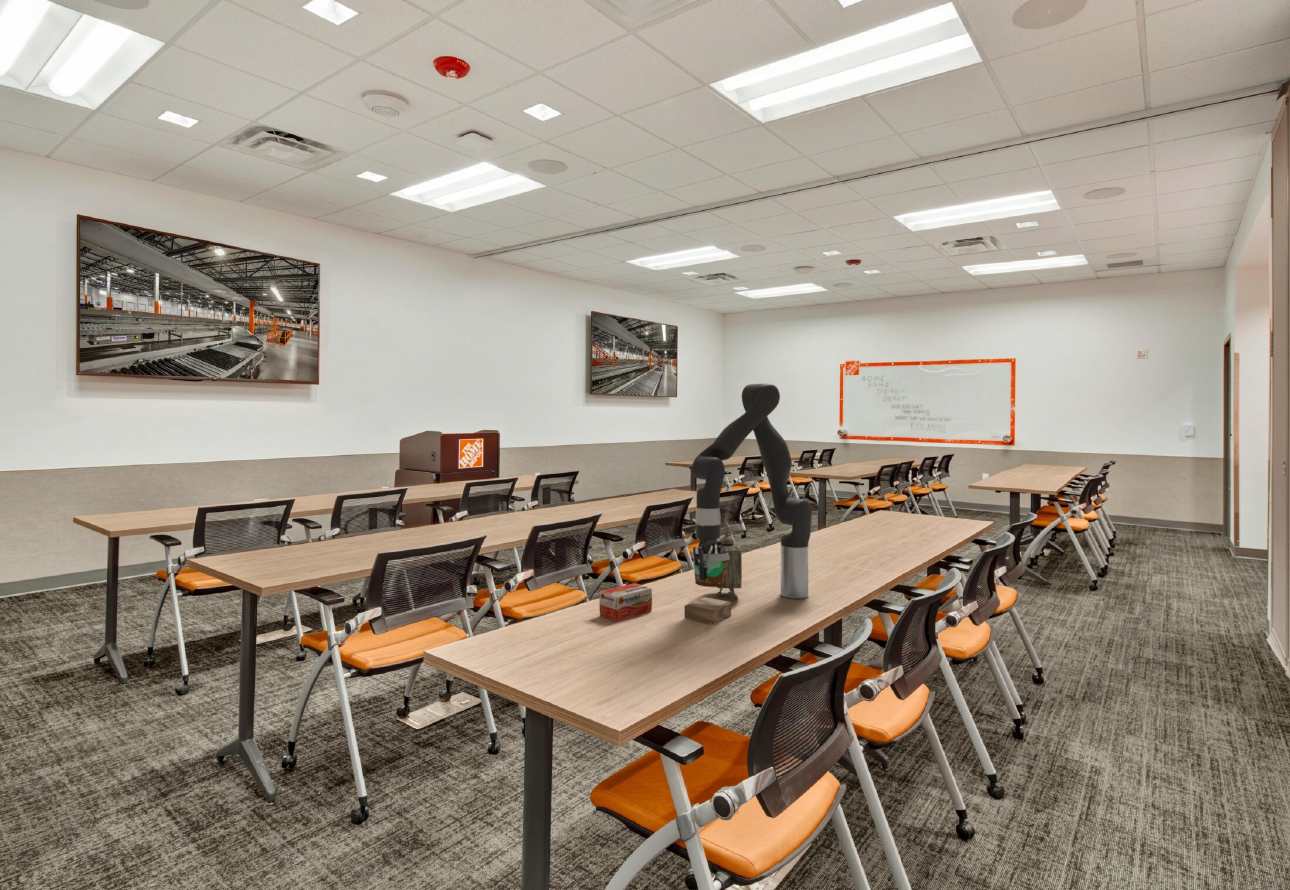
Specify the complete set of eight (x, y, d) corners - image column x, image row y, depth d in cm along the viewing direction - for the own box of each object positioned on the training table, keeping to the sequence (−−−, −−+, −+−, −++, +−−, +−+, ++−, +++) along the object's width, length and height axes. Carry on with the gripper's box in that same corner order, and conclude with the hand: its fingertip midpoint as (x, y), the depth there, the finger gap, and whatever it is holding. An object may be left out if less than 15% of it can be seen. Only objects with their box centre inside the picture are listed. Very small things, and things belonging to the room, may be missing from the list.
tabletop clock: (741, 601, 215) (741, 526, 214) (714, 601, 215) (714, 526, 214) (736, 590, 230) (736, 520, 229) (710, 590, 230) (710, 520, 229)
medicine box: (616, 622, 194) (615, 596, 194) (599, 616, 200) (598, 591, 200) (652, 612, 205) (652, 587, 204) (635, 607, 211) (635, 582, 210)
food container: (684, 584, 198) (684, 552, 198) (692, 580, 204) (692, 548, 203) (722, 589, 192) (722, 556, 192) (729, 585, 198) (729, 552, 198)
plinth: (703, 609, 206) (703, 596, 206) (731, 615, 200) (731, 601, 200) (684, 618, 197) (684, 604, 197) (713, 624, 191) (713, 610, 191)
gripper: (709, 518, 206) (709, 571, 206) (685, 524, 194) (685, 580, 195) (730, 520, 201) (730, 574, 202) (706, 526, 190) (706, 584, 190)
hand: (708, 577), depth 198 cm, fingers closed on food container, 5 cm apart
